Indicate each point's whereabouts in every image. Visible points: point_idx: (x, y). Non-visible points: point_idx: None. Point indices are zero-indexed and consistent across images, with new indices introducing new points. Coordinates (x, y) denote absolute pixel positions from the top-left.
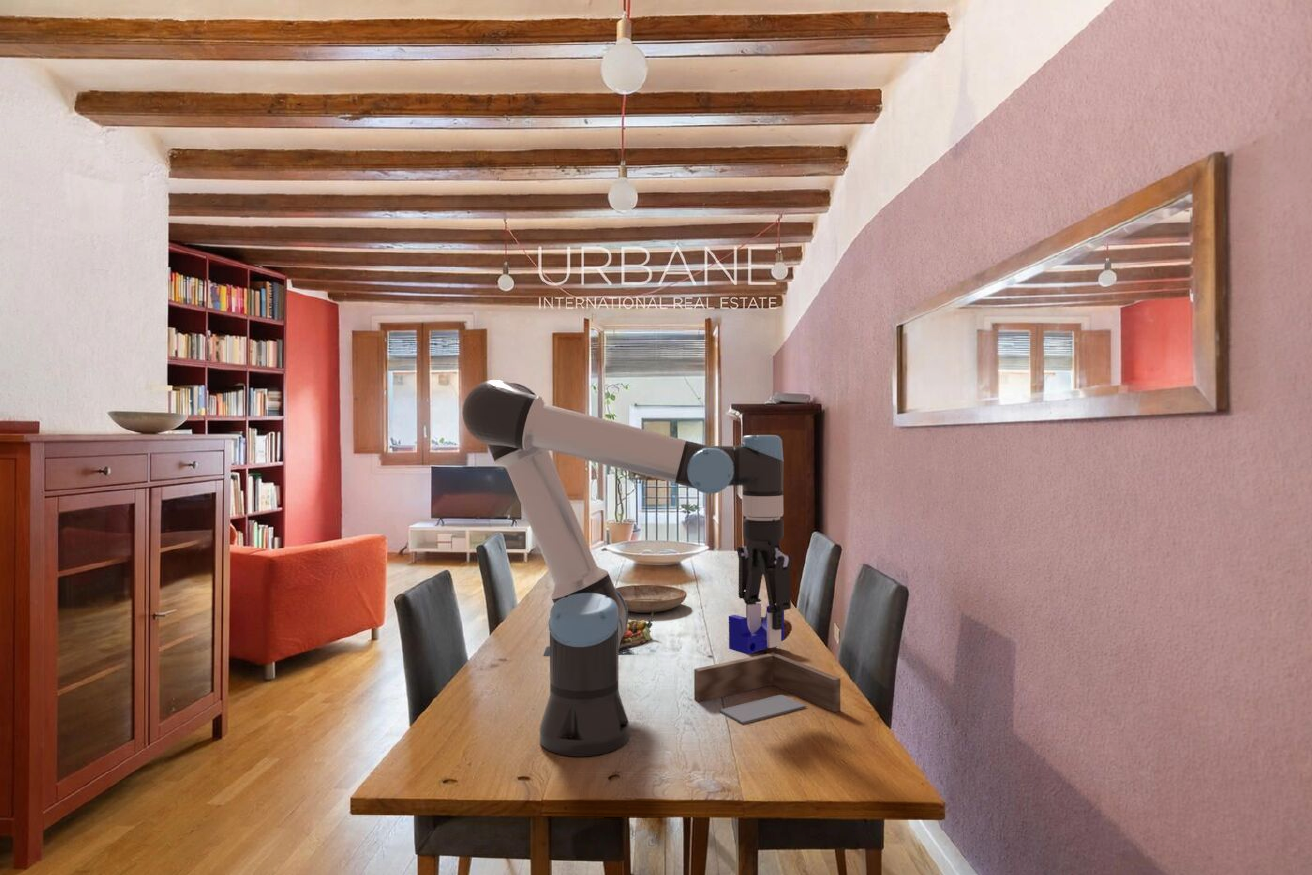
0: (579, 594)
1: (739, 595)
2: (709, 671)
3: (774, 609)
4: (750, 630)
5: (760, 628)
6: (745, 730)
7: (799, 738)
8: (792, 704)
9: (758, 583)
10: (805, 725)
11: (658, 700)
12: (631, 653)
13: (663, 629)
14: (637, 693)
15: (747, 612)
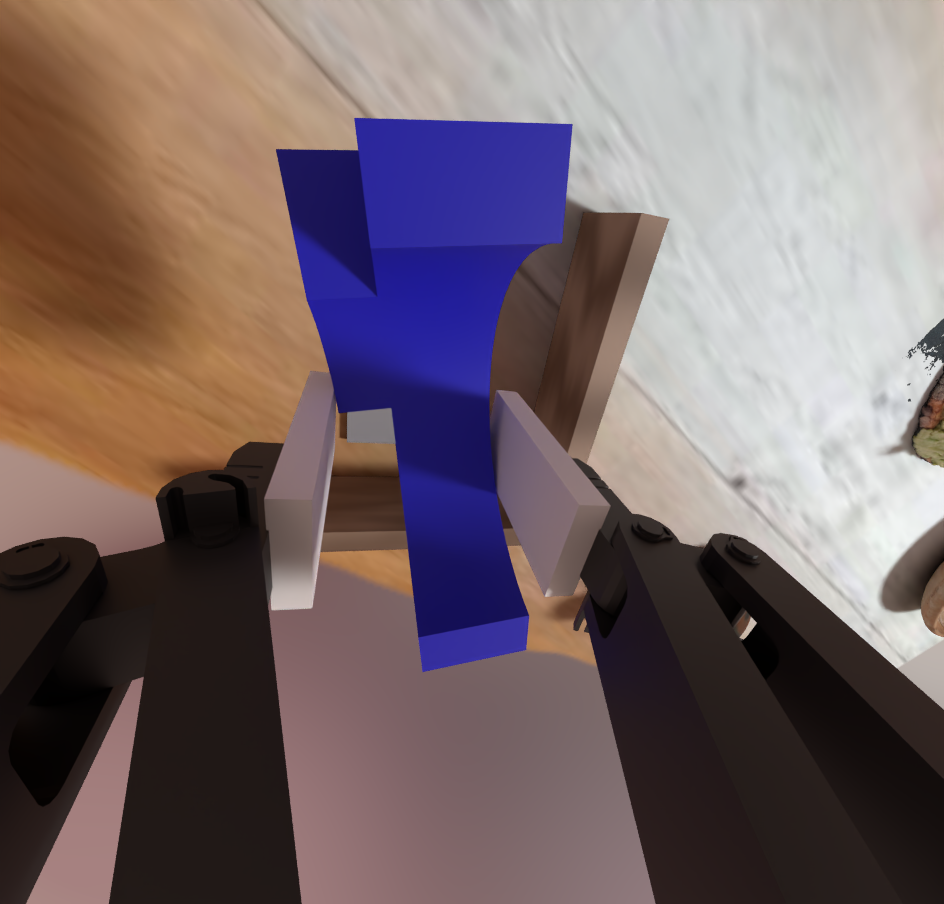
0: None
1: (747, 546)
2: (617, 271)
3: (171, 541)
4: (510, 416)
5: (486, 475)
6: (298, 136)
7: (141, 244)
8: (373, 419)
9: (644, 781)
10: (234, 345)
11: (695, 99)
12: (926, 343)
13: (903, 506)
14: (788, 88)
15: (578, 469)
